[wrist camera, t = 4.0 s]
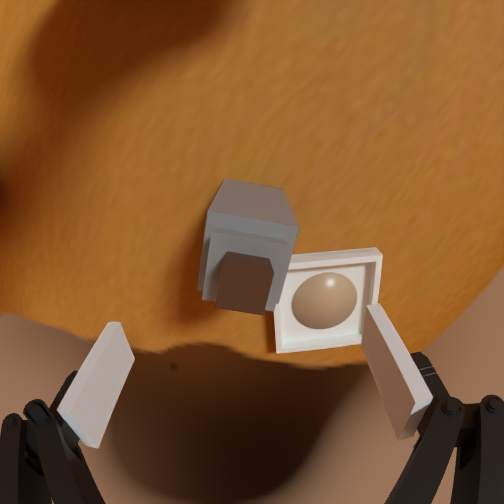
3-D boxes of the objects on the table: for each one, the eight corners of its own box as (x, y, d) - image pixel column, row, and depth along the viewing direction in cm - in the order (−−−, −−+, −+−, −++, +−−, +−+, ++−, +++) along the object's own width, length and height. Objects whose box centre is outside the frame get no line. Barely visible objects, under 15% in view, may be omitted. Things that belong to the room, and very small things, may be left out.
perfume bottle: (224, 178, 34) (196, 231, 18) (282, 189, 35) (309, 251, 18) (216, 232, 37) (186, 323, 20) (270, 242, 37) (282, 338, 21)
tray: (275, 342, 44) (276, 353, 41) (269, 256, 38) (270, 265, 36) (366, 332, 43) (371, 341, 41) (375, 247, 37) (382, 254, 35)
